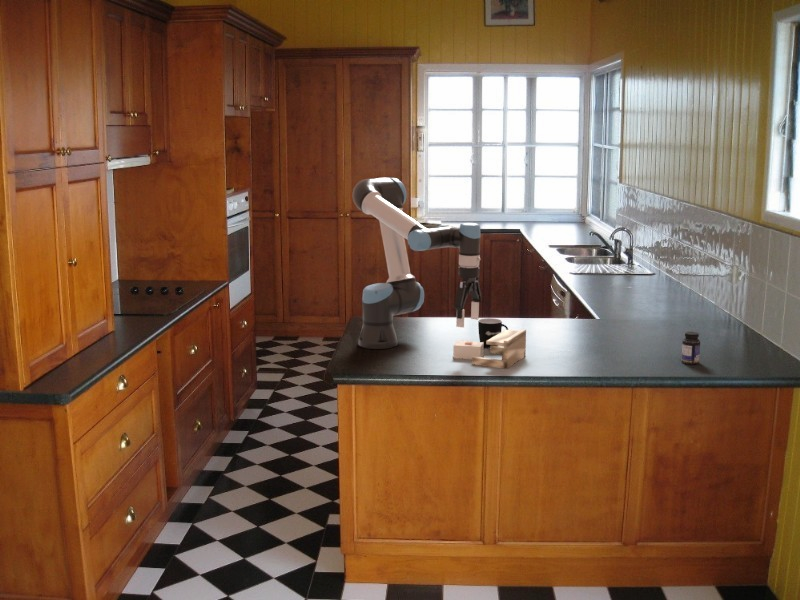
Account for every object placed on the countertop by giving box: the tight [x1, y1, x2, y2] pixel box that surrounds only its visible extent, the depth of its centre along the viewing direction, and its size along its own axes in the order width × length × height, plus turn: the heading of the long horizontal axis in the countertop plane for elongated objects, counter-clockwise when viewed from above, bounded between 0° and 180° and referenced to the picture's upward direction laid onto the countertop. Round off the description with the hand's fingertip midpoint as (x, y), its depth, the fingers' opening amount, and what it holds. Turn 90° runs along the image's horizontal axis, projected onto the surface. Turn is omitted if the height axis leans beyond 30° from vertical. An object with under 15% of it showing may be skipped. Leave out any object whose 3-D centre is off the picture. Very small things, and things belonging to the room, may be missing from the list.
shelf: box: [471, 328, 527, 370], centre depth 321 cm, size 14×19×10 cm
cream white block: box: [452, 340, 485, 360], centre depth 327 cm, size 10×7×6 cm
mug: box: [477, 317, 509, 349], centre depth 341 cm, size 12×9×10 cm
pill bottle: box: [681, 330, 701, 365], centre depth 316 cm, size 6×6×11 cm
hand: (467, 323), depth 325 cm, fingers open, 13 cm apart
